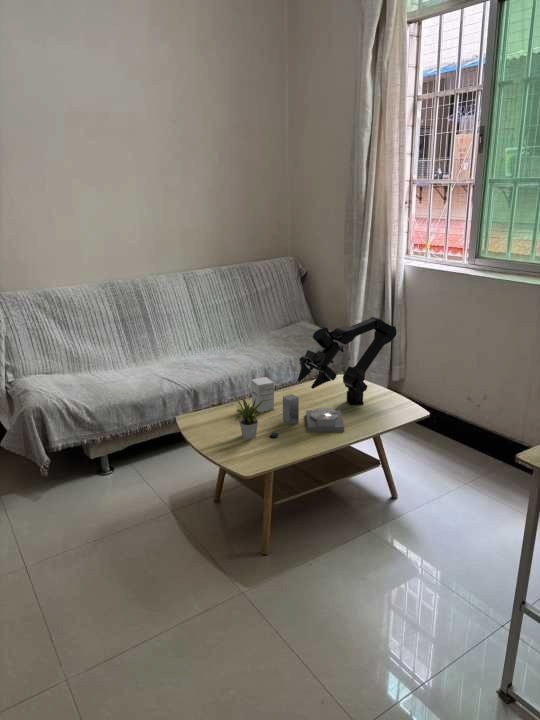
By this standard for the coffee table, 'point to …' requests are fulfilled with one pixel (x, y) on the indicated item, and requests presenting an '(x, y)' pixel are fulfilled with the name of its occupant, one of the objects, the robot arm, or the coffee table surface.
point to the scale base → (324, 429)
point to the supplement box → (263, 394)
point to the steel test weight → (290, 409)
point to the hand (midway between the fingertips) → (304, 384)
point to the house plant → (248, 419)
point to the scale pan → (323, 413)
